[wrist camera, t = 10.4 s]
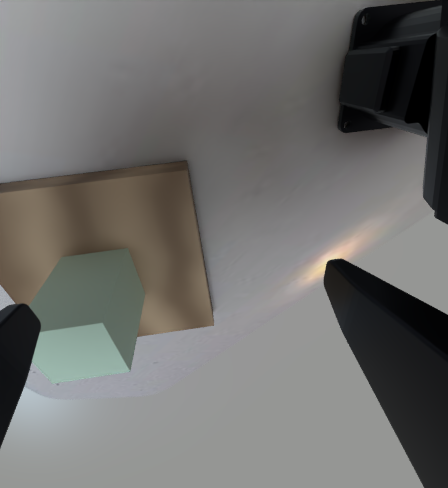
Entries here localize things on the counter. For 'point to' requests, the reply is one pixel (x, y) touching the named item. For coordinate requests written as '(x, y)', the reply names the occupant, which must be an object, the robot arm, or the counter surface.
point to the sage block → (88, 316)
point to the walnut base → (111, 237)
